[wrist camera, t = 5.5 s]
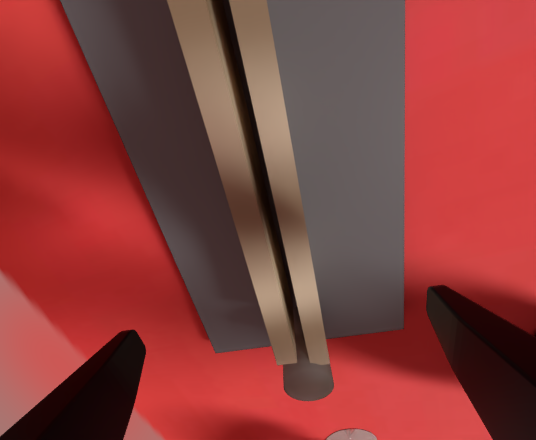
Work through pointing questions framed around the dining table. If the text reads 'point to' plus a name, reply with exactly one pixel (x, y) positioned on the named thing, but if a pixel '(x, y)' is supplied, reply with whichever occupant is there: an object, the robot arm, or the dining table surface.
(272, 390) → the dining table surface
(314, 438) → the dining table surface
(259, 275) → the tongs arm
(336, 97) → the serving board
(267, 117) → the arm
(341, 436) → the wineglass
